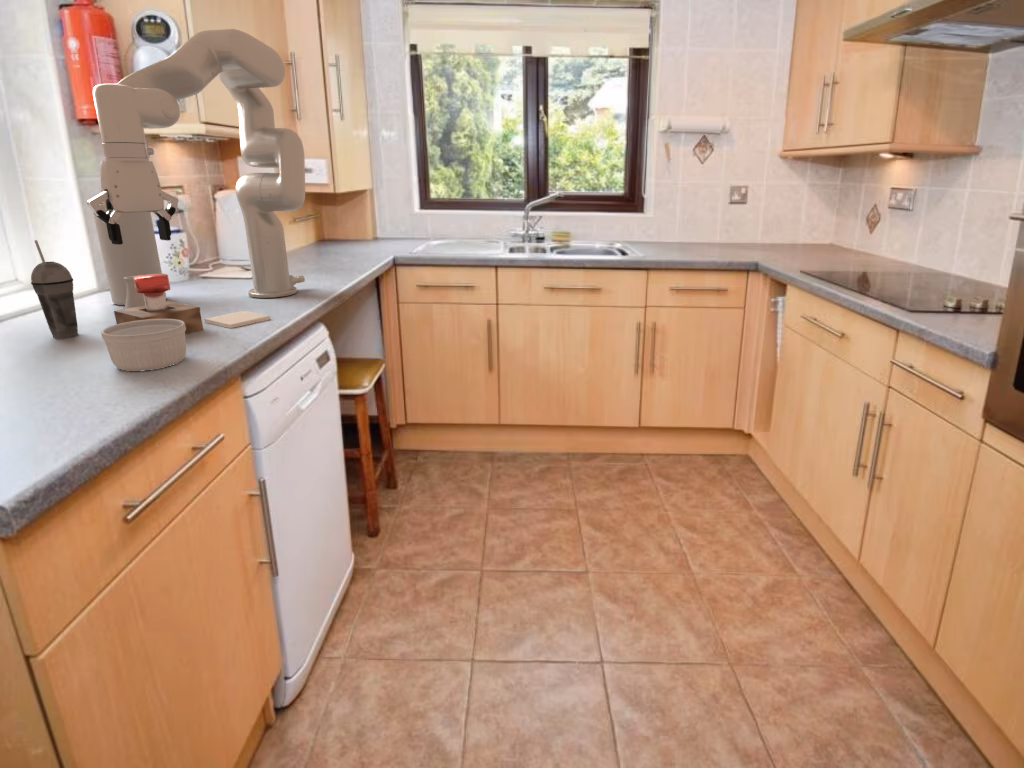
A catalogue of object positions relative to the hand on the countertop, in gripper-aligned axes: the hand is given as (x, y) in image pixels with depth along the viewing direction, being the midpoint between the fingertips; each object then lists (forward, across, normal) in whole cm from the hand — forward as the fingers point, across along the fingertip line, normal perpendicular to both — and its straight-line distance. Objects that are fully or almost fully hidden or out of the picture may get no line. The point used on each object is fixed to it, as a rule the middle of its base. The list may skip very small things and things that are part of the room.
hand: (142, 242), depth 132 cm
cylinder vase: (+19, -15, -37) cm, 44 cm away
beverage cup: (+19, +12, -14) cm, 27 cm away
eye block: (+19, -1, 0) cm, 19 cm away
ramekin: (+20, +12, +21) cm, 31 cm away
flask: (+19, -4, -15) cm, 25 cm away
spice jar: (+19, -1, 0) cm, 19 cm away
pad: (+19, -16, +5) cm, 25 cm away
